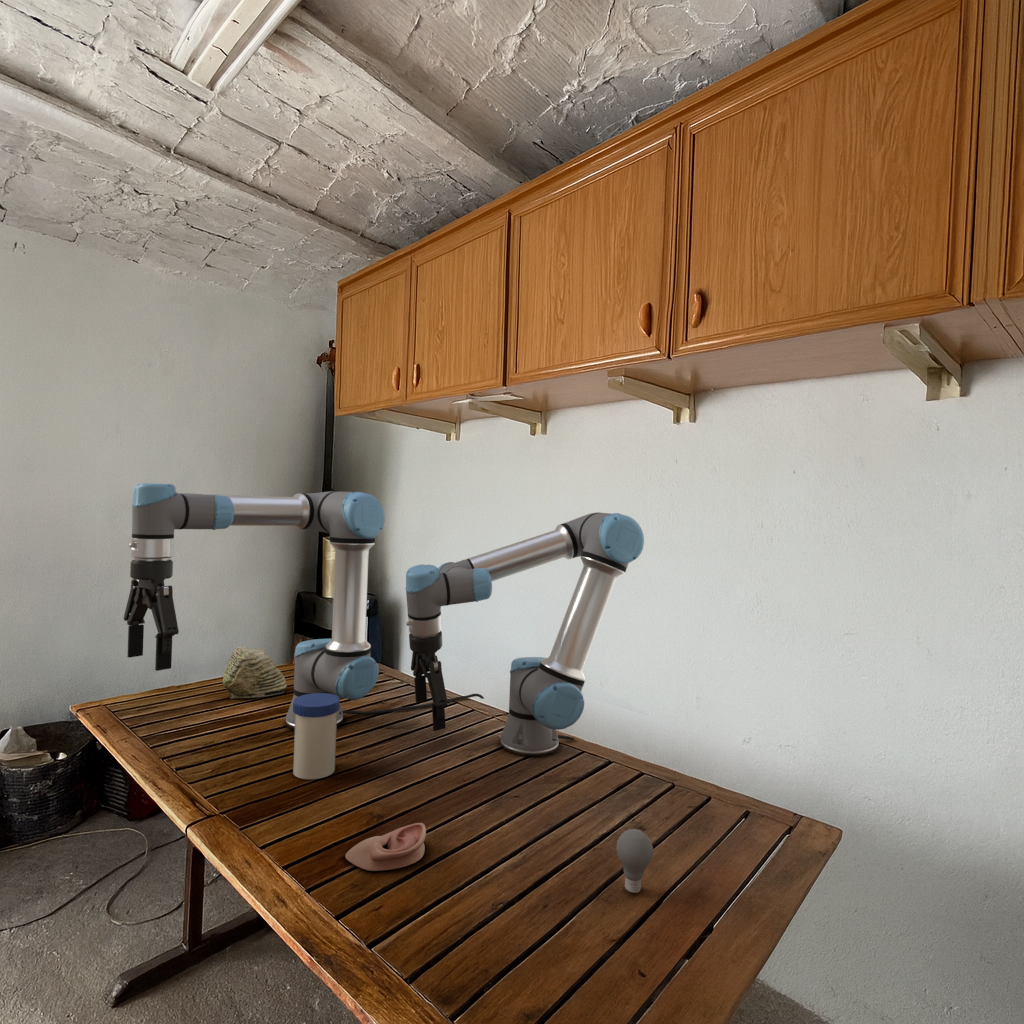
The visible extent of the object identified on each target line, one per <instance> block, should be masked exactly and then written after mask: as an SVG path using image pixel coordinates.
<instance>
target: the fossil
mask: <svg viewBox="0 0 1024 1024" xmlns="http://www.w3.org/2000/svg"><path fill="white" fill-rule="evenodd" d="M222 676H223V677H222V685H223V687H224V688H225V690H226V691H228V693H229V698H230V699H250V698H264V697H271V696H275V695H281V694H284V693H285V691H286V689H287V687H288V686H287V680H286V678H285V676H284V674H283V673H282V672H281V669H279V668H278V667H277V665H276V663H275V662H274V660H273V659H272V658H271V657H270V656H269V655H268V654H267V653H266V652H265V650H264V649H263V648H260V647H258V648H251V647H247V646H246V647H245V646H238V647H237V648H236V649H235V650H233V651H232V653H231V656H230V657H229V659H228V660H227V663H226V666H225V668H224V671H223V675H222Z"/></svg>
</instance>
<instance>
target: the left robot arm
mask: <svg viewBox="0 0 1024 1024" xmlns="http://www.w3.org/2000/svg"><path fill="white" fill-rule="evenodd" d="M385 515H386V513H385V511H384V508H383V505H382V503H381V502H380V501H379V500H378V498H377V497H375V495H373V494H370V493H367V492H363V491H362V492H361V491H337V490H336V491H335V490H333V491H332V490H330V491H321V492H311V493H295V494H294V495H293V496H276V495H275V496H274V495H273V496H272V495H248V494H247V495H246V494H244V495H243V494H220V493H219V494H218V493H217V494H216V493H215V494H214V493H189V492H187V493H186V492H177V491H176V486H175V485H174V484H173V483H152V482H139V483H137V484H136V485H135V486H134V488H133V492H132V501H131V520H132V521H131V542H130V543H128V547H129V548H130V549H131V550H130V556H131V558H133V559H132V560H131V561H130V567H129V568H130V571H129V574H130V575H129V576H130V578H131V581H130V590H129V594H128V598H127V603H126V607H125V610H124V615H123V621H124V622H126V624H127V626H128V629H127V630H128V631H127V658H135V657H142V656H144V635H145V634H144V630H145V625H144V624H145V623H146V621H145V619H144V618H145V616H146V615H147V612H148V609H149V610H151V613H152V618H153V620H154V624H155V627H156V631H157V633H156V635H155V636H154V638H155V661H154V663H155V665H154V668H155V669H154V670H155V671H157V672H159V671H164V670H169V669H172V659H173V657H172V655H173V637H175V636H176V635H179V632H180V631H179V625H178V619H177V615H176V614H177V613H176V609H175V603H174V597H173V595H174V593H173V585H165V580H167V579H171V578H172V577H173V575H174V573H173V572H174V561H173V560H172V559H171V558H173V557H174V554H175V553H174V552H175V530H213V531H215V530H224V529H228V528H230V526H233V527H234V526H237V527H238V526H240V527H243V526H246V527H247V526H249V527H250V526H258V527H259V526H268V527H269V526H276V527H277V526H282V527H284V526H285V527H286V526H287V527H288V526H289V527H290V526H291V527H293V528H294V529H296V530H308V531H309V530H310V531H316V532H319V533H325V534H329V544H330V545H331V546H332V547H333V548H334V550H335V551H334V572H333V573H334V577H333V599H332V625H331V626H332V627H331V638H317V639H308V640H304V641H300V642H299V643H297V645H296V646H295V650H294V655H293V657H294V672H293V673H294V674H293V695H292V696H293V697H292V699H291V702H290V704H289V708H288V711H287V713H286V715H285V726H286V728H287V729H289V730H291V731H295V713H294V712H293V703H294V699H295V698H297V697H299V696H302V695H306V694H311V693H329V694H334V695H336V696H338V697H339V699H340V698H341V699H342V700H343V699H344V700H348V701H349V700H350V701H357V700H360V699H362V698H364V697H365V696H367V695H368V694H370V692H371V690H372V689H374V687H375V685H376V683H377V682H378V678H379V674H380V672H379V671H380V670H379V669H380V668H379V665H378V663H377V662H376V660H375V659H374V657H371V652H372V649H371V648H372V644H371V643H370V642H368V640H367V639H366V631H367V607H368V606H367V605H368V604H367V602H368V582H369V581H368V579H369V555H370V553H369V552H370V550H371V548H372V547H374V545H375V544H376V536H378V535H379V534H380V533H381V530H383V528H384V526H385V522H386V521H385V520H386V516H385ZM474 697H478V698H480V699H482V700H484V699H485V697H484V696H483V695H482V694H480V693H471V694H467V695H463V696H457V697H456V696H455V697H452V698H447V701H448V703H451V702H454V701H459V700H466V699H469V698H474ZM431 704H433V702H430V703H425V704H418V705H411V706H402V707H392V708H386V709H378V710H369V711H364V710H363V711H361V710H343V709H342V706H341V705H340V708H339V710H338V711H337V727H339V726H340V725H342V723H343V722H344V715H347V714H348V715H377V714H384V713H391V712H399V711H408V710H416V709H423V708H429V707H431V706H430V705H431Z"/></svg>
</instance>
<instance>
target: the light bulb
mask: <svg viewBox="0 0 1024 1024" xmlns="http://www.w3.org/2000/svg"><path fill="white" fill-rule="evenodd" d="M615 849H616V854H617V857H618V859H619V861H620V863H621V865H622V867H623V873H624V874H623V875H624V876H625V878H624V888H625V890H627V891H628V892H630V893H634V894H635V893H639V892H640V891H641V889H642V887H641V886H642V879H643V877H644V875H645V871H646V868H647V867H648V866H649V864H650V863H651V861H652V859H653V855H654V847H653V843H652V841H651V838H649V836H648V835H647V834H646V833H645V832H643V831H642V830H641V829H636V828H629V829H627V830H625V831H623V832H622V833H621V834H620V835H619V837H618V839H617V841H616V847H615Z"/></svg>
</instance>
